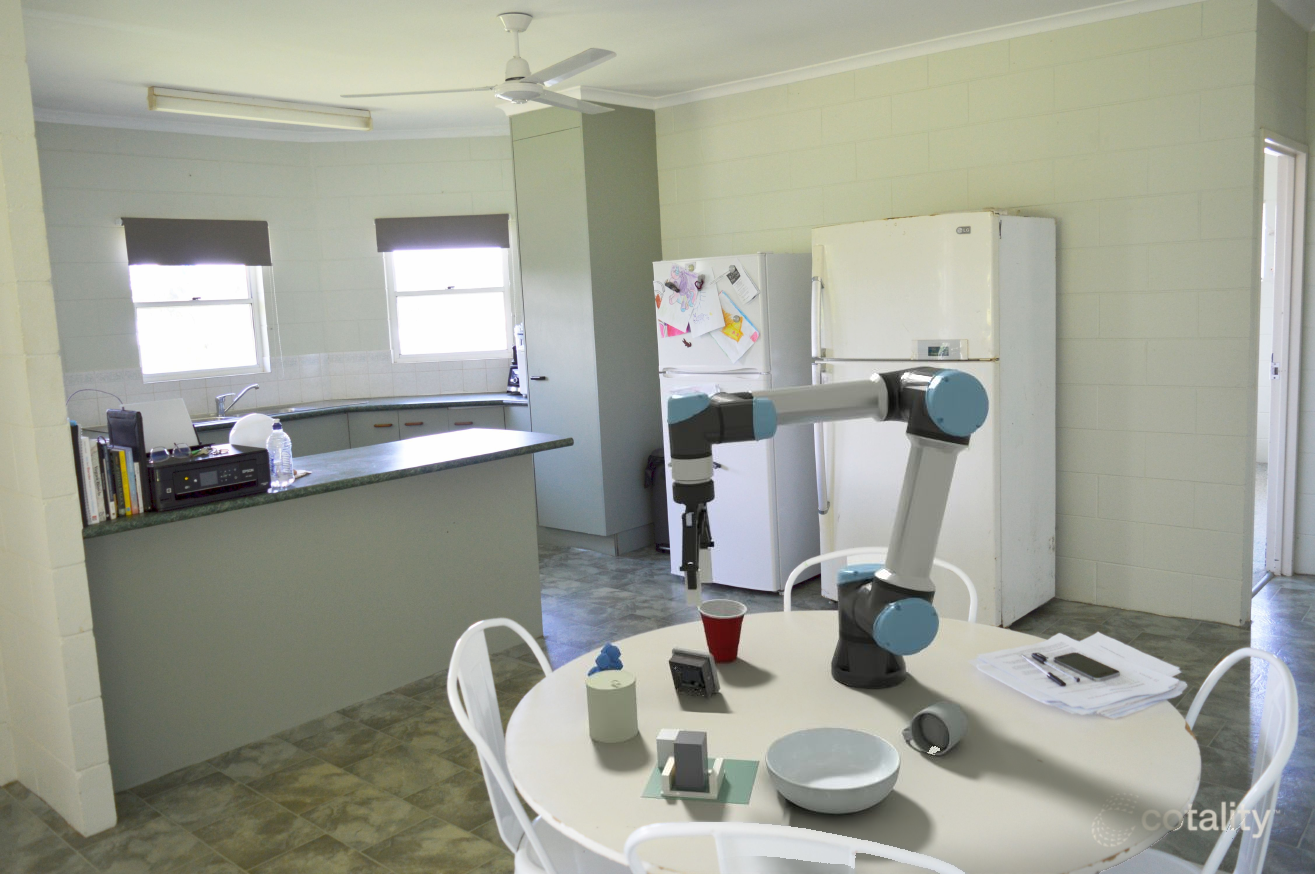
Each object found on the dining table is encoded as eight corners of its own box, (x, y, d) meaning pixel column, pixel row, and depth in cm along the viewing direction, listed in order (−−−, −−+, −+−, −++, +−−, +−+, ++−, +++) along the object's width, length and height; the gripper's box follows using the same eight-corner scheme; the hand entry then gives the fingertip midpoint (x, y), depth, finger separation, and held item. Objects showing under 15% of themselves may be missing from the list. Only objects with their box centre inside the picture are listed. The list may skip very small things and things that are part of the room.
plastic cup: (735, 671, 206) (732, 616, 204) (691, 663, 211) (688, 610, 210) (757, 653, 215) (755, 601, 213) (714, 646, 220) (712, 595, 219)
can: (601, 755, 171) (597, 691, 169) (581, 736, 179) (577, 674, 177) (648, 742, 175) (644, 679, 173) (626, 723, 183) (622, 663, 181)
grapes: (600, 690, 199) (597, 634, 197) (631, 693, 197) (628, 636, 195) (577, 714, 188) (573, 655, 186) (609, 717, 186) (606, 657, 184)
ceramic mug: (971, 742, 168) (970, 700, 167) (951, 761, 162) (950, 717, 161) (914, 728, 175) (913, 687, 174) (893, 745, 169) (892, 703, 168)
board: (759, 769, 163) (758, 743, 162) (748, 812, 149) (747, 785, 149) (660, 763, 167) (659, 738, 166) (641, 805, 153) (640, 778, 152)
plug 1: (685, 757, 165) (684, 729, 164) (681, 768, 161) (679, 740, 161) (663, 755, 166) (661, 728, 165) (657, 766, 162) (656, 738, 162)
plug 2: (708, 778, 158) (706, 731, 157) (703, 791, 153) (701, 744, 152) (679, 776, 159) (677, 730, 158) (674, 790, 154) (671, 742, 153)
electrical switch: (721, 692, 195) (717, 649, 193) (708, 704, 191) (704, 660, 189) (681, 684, 200) (677, 642, 198) (668, 695, 196) (663, 653, 194)
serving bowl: (785, 757, 167) (784, 719, 166) (910, 774, 159) (909, 734, 158) (750, 818, 148) (748, 776, 147) (889, 842, 140) (888, 797, 139)
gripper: (683, 467, 186) (690, 573, 189) (659, 494, 162) (667, 616, 165) (722, 465, 185) (728, 573, 188) (703, 493, 161) (711, 616, 164)
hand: (700, 593), depth 176 cm, fingers open, 13 cm apart
